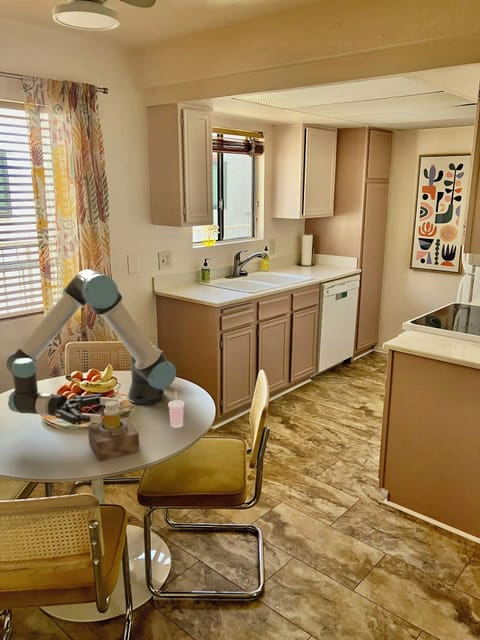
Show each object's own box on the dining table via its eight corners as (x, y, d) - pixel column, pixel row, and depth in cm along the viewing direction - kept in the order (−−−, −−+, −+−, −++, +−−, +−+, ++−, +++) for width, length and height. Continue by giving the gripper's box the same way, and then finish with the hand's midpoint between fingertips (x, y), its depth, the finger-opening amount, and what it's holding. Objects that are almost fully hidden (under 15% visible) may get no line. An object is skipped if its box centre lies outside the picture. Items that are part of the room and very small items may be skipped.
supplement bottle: (116, 433, 176) (115, 407, 173) (101, 431, 177) (100, 405, 174) (123, 426, 181) (121, 400, 178) (108, 424, 182) (107, 399, 179)
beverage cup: (168, 422, 200) (167, 388, 196) (184, 420, 201) (183, 387, 197) (169, 429, 194) (168, 394, 190) (185, 427, 195) (184, 393, 192)
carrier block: (127, 434, 190) (126, 413, 187) (139, 451, 178) (138, 429, 175) (89, 443, 183) (87, 421, 181) (98, 461, 171) (97, 438, 169)
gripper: (71, 400, 193) (124, 405, 189) (33, 430, 170) (93, 437, 166) (69, 381, 191) (123, 386, 187) (31, 409, 168) (91, 416, 164)
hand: (109, 410), depth 177 cm, fingers open, 13 cm apart
